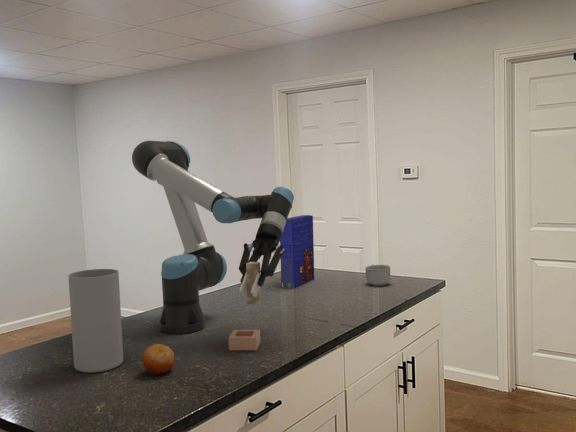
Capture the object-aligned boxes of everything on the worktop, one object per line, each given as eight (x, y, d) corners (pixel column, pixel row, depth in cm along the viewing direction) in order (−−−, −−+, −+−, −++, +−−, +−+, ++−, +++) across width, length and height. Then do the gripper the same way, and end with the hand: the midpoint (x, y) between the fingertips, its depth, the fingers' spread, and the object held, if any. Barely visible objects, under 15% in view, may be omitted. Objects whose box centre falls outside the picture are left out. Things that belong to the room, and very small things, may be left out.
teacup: (392, 286, 233) (392, 268, 232) (367, 287, 233) (366, 269, 232) (387, 280, 247) (386, 262, 246) (363, 281, 247) (362, 263, 246)
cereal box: (302, 278, 257) (301, 214, 254) (314, 279, 254) (312, 215, 252) (281, 287, 237) (279, 219, 235) (293, 288, 235) (291, 219, 232)
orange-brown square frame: (228, 350, 156) (228, 337, 155) (234, 341, 164) (233, 329, 163) (256, 350, 155) (256, 337, 155) (260, 341, 163) (260, 329, 163)
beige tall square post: (247, 304, 159) (246, 263, 158) (251, 301, 162) (250, 261, 160) (256, 305, 158) (255, 264, 157) (260, 302, 160) (260, 262, 159)
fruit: (159, 357, 147) (167, 335, 143) (174, 378, 142) (182, 356, 139) (132, 365, 141) (139, 343, 138) (146, 387, 137) (154, 365, 133)
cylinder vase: (75, 376, 138) (69, 279, 136) (73, 361, 150) (67, 271, 148) (126, 368, 143) (121, 274, 141) (120, 354, 155) (115, 267, 153)
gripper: (298, 238, 169) (277, 303, 155) (251, 236, 175) (227, 298, 162) (291, 222, 164) (269, 289, 150) (243, 221, 170) (218, 284, 156)
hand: (247, 294), depth 156 cm, fingers closed on beige tall square post, 3 cm apart
